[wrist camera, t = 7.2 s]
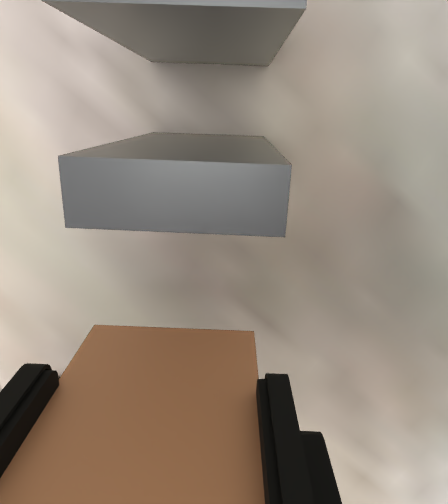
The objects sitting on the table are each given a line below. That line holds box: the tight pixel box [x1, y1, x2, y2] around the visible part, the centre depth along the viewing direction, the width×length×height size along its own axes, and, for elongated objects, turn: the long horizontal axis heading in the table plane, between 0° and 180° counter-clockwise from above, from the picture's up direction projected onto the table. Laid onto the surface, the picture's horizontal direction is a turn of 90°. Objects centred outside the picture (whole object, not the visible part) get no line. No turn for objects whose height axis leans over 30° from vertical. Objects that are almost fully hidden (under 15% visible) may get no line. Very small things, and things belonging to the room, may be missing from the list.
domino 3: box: [0, 325, 265, 504], centre depth 8 cm, size 5×2×10 cm, turn 88°
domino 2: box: [58, 132, 292, 237], centre depth 13 cm, size 5×2×10 cm, turn 88°
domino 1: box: [42, 0, 307, 66], centre depth 12 cm, size 5×2×10 cm, turn 88°
